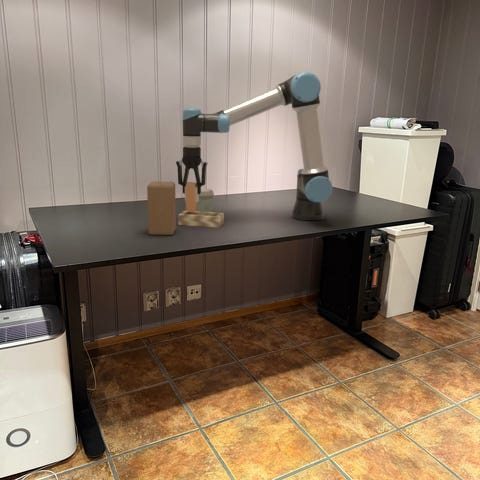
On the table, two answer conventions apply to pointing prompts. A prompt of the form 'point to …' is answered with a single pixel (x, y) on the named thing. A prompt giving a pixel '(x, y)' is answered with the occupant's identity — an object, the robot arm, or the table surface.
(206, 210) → the coffee cup
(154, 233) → the block
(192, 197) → the peg
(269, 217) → the table surface
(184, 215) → the socket block
